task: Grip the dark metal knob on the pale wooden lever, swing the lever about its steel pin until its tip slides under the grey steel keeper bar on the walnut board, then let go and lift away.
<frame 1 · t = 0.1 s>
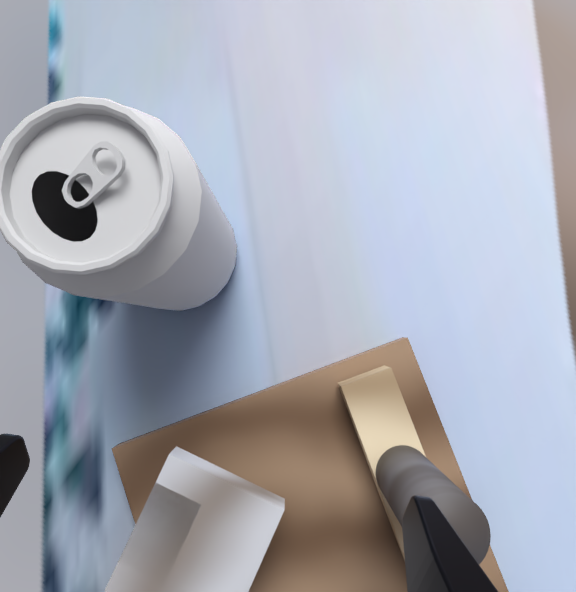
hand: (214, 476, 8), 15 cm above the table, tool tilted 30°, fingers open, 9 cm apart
keeper board: (315, 539, 22), on the table
can: (182, 254, 24), on the table
lever: (443, 558, 18), point 5 cm above the table, hinge at 0.0°
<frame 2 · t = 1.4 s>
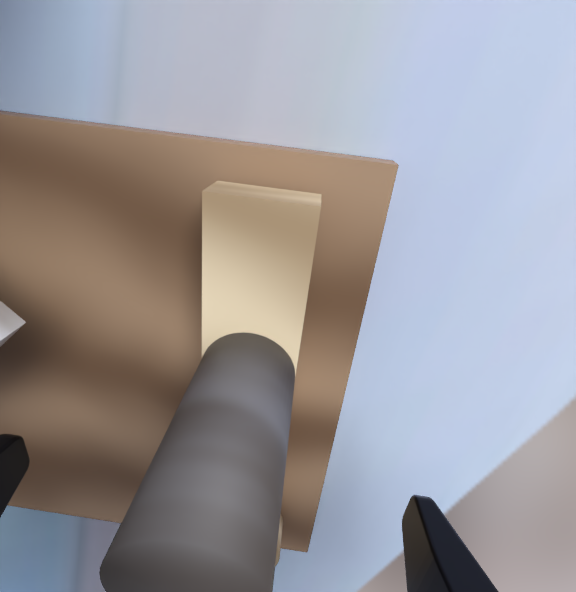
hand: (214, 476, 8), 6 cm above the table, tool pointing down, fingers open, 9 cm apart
keeper board: (116, 366, 16), on the table
lever: (228, 504, 11), point 5 cm above the table, hinge at 0.0°
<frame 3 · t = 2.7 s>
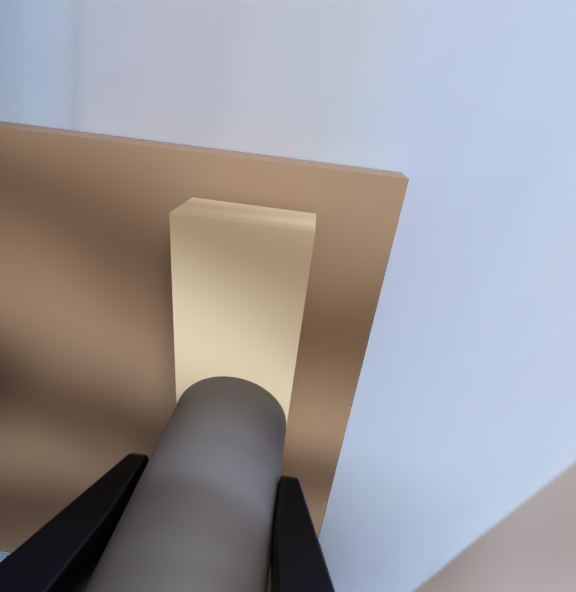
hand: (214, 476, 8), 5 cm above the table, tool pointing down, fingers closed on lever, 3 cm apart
keeper board: (88, 400, 14), on the table
lever: (206, 578, 9), point 5 cm above the table, hinge at 0.0°, touching gripper
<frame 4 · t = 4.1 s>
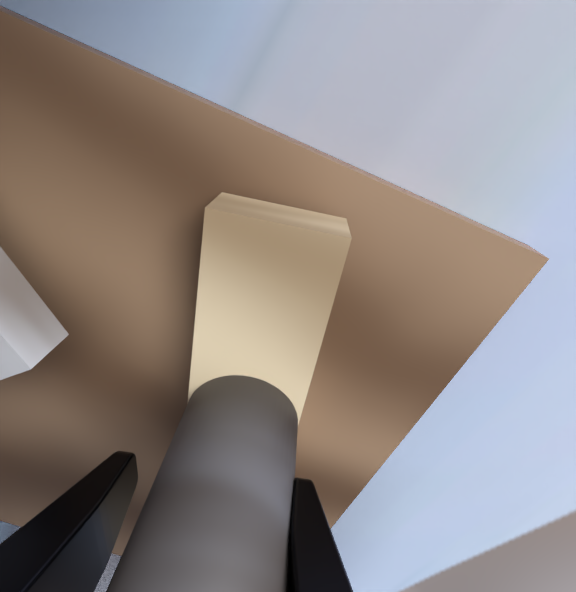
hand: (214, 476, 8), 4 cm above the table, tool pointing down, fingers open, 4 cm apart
keeper board: (124, 375, 13), on the table
lever: (209, 577, 9), point 5 cm above the table, hinge at 11.5°, touching gripper
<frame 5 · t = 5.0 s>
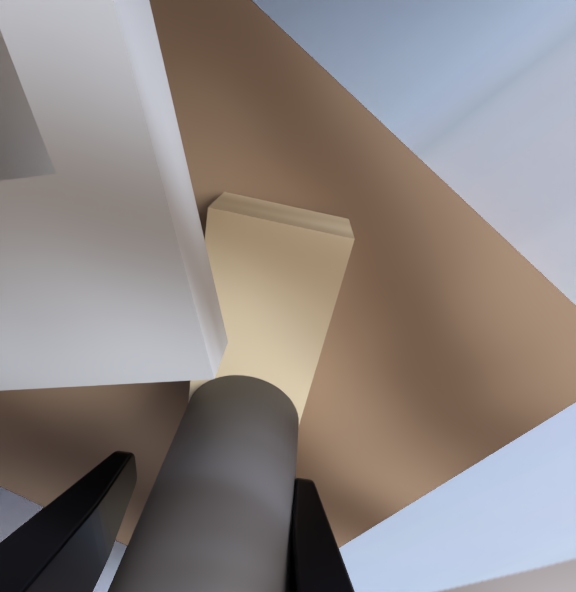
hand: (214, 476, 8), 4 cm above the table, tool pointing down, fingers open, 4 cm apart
keeper board: (189, 367, 13), on the table
lever: (209, 576, 9), point 5 cm above the table, hinge at 26.7°, touching gripper
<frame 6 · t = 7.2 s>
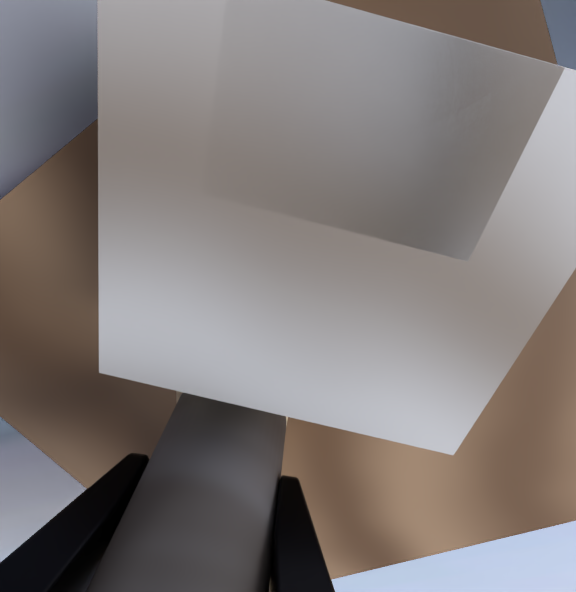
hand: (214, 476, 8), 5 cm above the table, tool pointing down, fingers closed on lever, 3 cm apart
keeper board: (291, 385, 13), on the table
lever: (204, 577, 9), point 5 cm above the table, hinge at 50.6°, touching gripper
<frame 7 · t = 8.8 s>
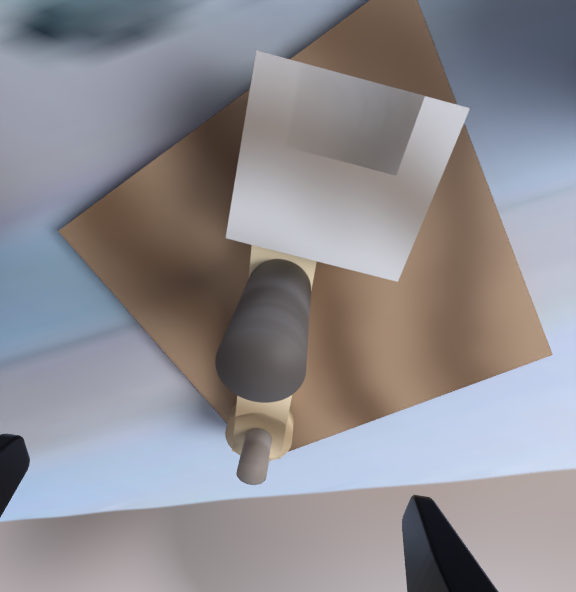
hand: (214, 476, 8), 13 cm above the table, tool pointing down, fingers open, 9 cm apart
keeper board: (311, 286, 20), on the table
lever: (265, 372, 17), point 5 cm above the table, hinge at 50.6°
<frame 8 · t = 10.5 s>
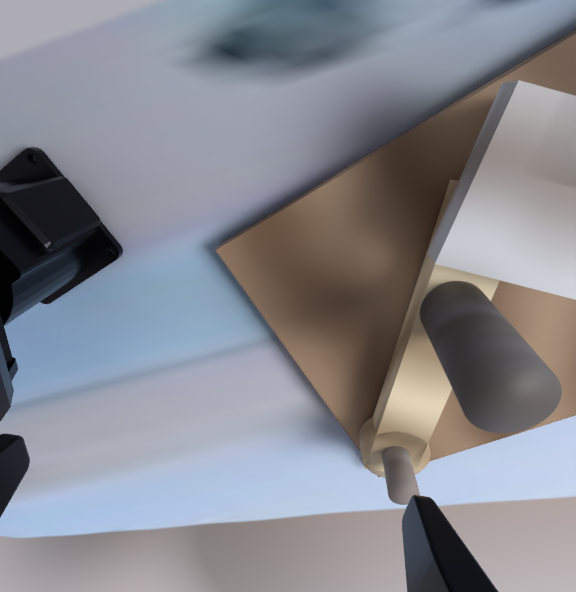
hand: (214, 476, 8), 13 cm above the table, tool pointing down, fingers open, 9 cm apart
keeper board: (460, 304, 20), on the table
lever: (444, 395, 17), point 5 cm above the table, hinge at 50.6°
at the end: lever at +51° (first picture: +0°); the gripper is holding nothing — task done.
